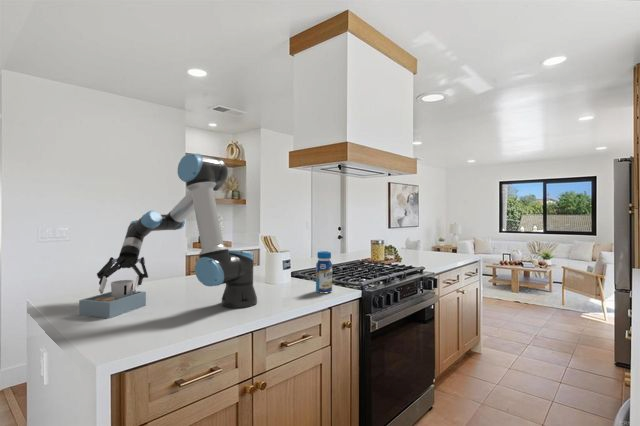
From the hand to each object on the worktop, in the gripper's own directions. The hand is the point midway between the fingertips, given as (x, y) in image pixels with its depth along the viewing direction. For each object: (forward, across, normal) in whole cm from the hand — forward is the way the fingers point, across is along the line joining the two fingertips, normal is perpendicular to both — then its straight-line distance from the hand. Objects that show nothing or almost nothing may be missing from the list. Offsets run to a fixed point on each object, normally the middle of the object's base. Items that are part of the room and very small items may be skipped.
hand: (118, 291), depth 147 cm
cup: (+4, -1, -6) cm, 7 cm away
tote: (+6, +1, -4) cm, 7 cm away
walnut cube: (+9, +3, 0) cm, 9 cm away
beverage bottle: (-8, -89, -17) cm, 91 cm away
